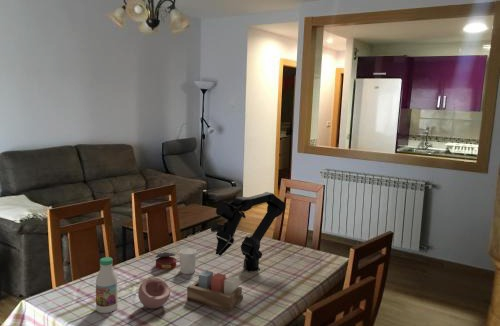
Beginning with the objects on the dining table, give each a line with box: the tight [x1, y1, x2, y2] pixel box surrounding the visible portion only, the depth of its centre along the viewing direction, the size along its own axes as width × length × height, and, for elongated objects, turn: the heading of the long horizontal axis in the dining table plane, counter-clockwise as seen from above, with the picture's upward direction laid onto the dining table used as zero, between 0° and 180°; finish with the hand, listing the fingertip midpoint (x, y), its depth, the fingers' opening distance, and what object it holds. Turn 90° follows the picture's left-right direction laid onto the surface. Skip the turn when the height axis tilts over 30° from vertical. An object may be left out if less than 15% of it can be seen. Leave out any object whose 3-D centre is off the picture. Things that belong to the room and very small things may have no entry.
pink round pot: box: [137, 277, 171, 309], centre depth 156 cm, size 12×12×12 cm
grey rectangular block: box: [198, 270, 214, 289], centre depth 168 cm, size 5×4×8 cm
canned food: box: [155, 252, 177, 271], centre depth 196 cm, size 11×10×10 cm
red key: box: [211, 272, 227, 292], centre depth 166 cm, size 5×4×8 cm
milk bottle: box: [95, 256, 118, 314], centre depth 153 cm, size 8×8×20 cm
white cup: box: [179, 247, 197, 275], centre depth 191 cm, size 8×8×10 cm
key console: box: [186, 279, 244, 313], centre depth 164 cm, size 12×19×6 cm, turn 66°
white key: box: [224, 275, 240, 295], centre depth 163 cm, size 5×4×8 cm
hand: (217, 254), depth 181 cm, fingers open, 9 cm apart
